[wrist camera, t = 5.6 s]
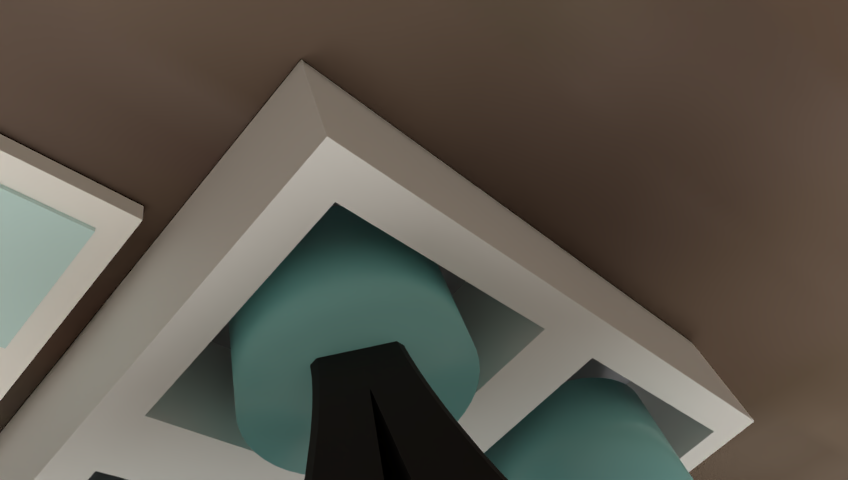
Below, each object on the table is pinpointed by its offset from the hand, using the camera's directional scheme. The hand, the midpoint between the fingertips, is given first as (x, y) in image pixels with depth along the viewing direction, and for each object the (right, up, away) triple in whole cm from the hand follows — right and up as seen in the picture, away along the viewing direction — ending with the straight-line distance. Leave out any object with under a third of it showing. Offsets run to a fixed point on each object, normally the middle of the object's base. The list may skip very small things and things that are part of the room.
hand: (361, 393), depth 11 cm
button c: (+4, -2, +4) cm, 6 cm away
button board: (-1, -2, +5) cm, 5 cm away
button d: (-1, +1, +2) cm, 2 cm away
